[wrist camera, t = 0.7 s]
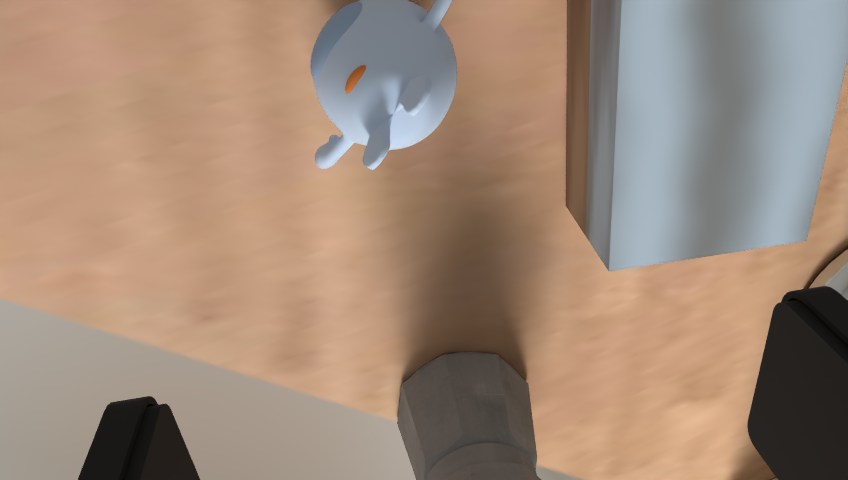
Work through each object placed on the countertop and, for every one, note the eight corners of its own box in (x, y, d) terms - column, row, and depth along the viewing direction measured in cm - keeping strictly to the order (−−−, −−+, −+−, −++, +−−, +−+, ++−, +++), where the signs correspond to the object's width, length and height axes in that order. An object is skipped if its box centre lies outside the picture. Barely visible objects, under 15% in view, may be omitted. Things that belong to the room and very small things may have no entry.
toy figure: (388, -95, 29) (417, -68, 19) (494, -9, 32) (570, 57, 21) (266, 96, 33) (234, 205, 23) (369, 160, 35) (382, 286, 25)
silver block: (772, -84, 31) (876, -69, 25) (733, 180, 38) (806, 241, 32) (567, -57, 31) (623, -35, 25) (566, 205, 38) (608, 271, 32)
